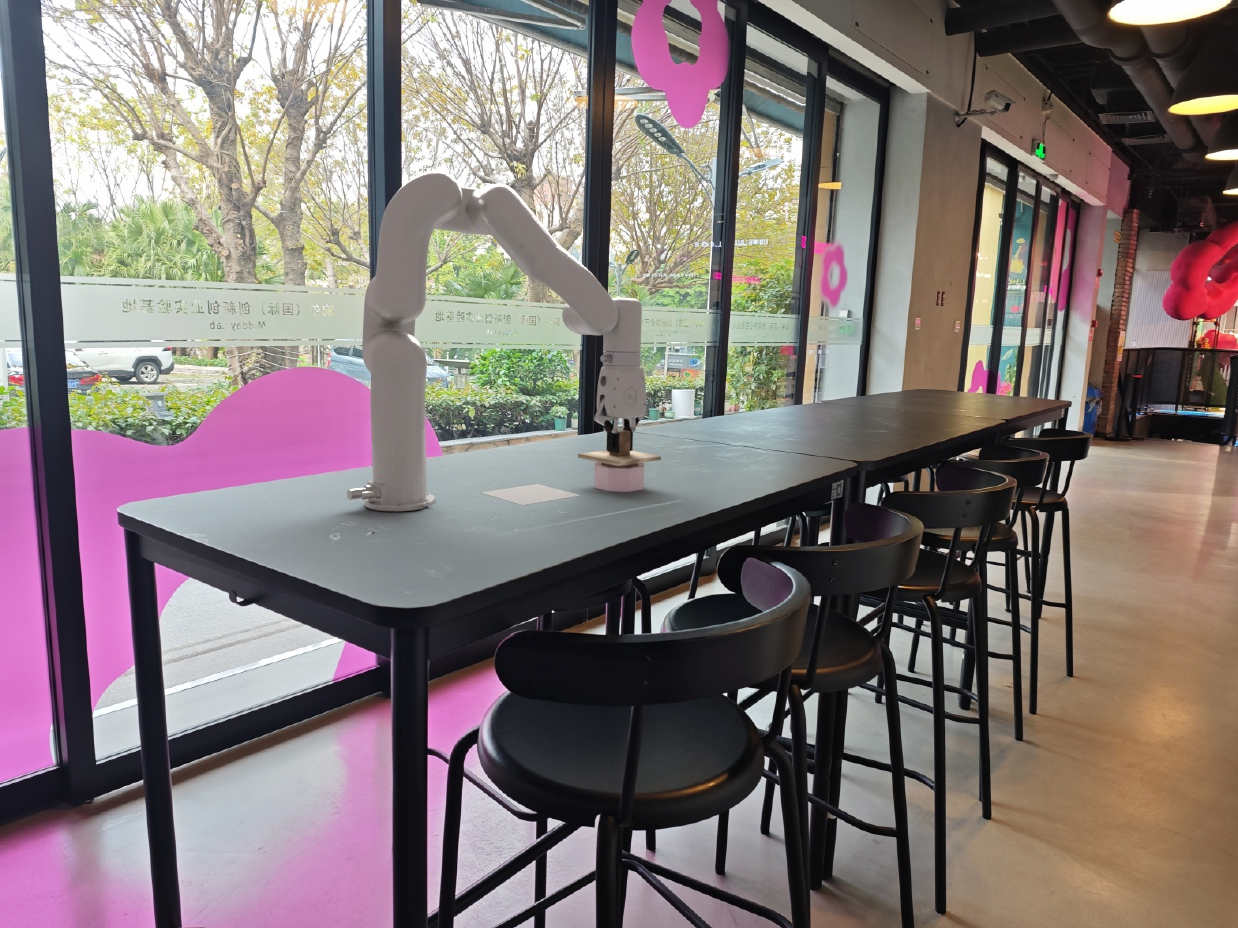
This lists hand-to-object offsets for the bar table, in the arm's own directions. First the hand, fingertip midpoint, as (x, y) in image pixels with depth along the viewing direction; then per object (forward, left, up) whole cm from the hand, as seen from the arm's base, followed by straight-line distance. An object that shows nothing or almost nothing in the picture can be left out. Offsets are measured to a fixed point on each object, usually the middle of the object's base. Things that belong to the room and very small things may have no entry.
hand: (619, 450), depth 171 cm
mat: (-19, +5, -8) cm, 21 cm away
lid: (0, 0, -2) cm, 2 cm away
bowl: (0, 0, -8) cm, 8 cm away
